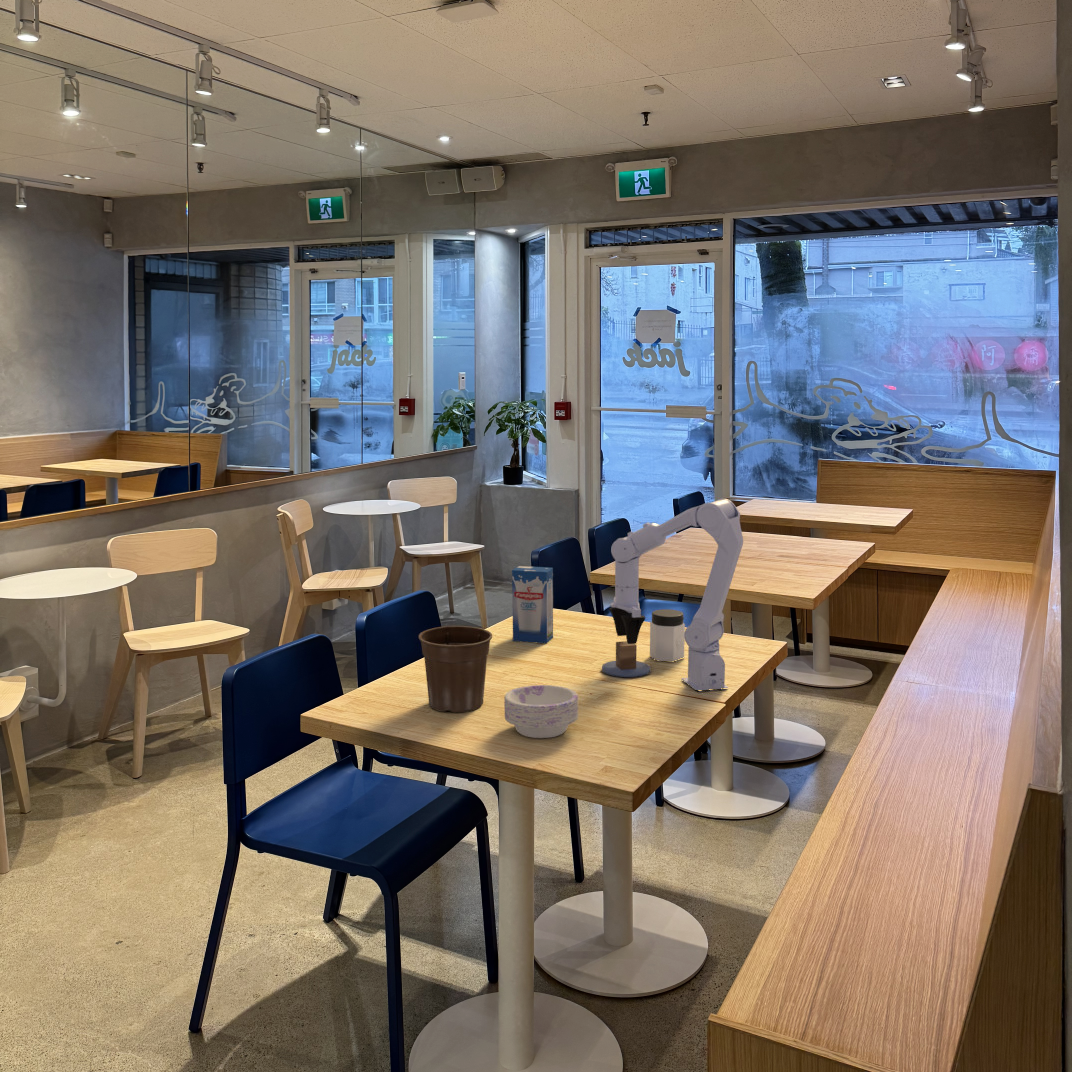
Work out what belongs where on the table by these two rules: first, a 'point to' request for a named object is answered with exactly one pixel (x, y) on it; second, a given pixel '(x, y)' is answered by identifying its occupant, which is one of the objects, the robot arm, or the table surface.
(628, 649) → the walnut block
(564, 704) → the paper bowls
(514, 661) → the table surface
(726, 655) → the table surface
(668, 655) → the jar
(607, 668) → the blue-grey round disc
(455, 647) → the plant pot
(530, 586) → the milk carton
